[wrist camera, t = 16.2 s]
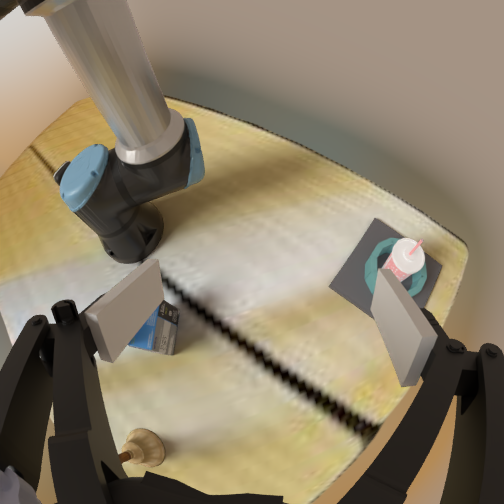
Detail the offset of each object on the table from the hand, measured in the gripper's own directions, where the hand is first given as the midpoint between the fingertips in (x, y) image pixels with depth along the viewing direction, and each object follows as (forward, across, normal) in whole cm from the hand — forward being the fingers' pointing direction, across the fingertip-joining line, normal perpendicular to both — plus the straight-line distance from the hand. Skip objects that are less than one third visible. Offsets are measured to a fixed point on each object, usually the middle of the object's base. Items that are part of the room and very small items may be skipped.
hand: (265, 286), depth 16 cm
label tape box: (+24, -20, -23) cm, 39 cm away
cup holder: (+32, +21, -14) cm, 41 cm away
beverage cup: (+32, +21, -13) cm, 40 cm away
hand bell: (+7, -22, -40) cm, 46 cm away
